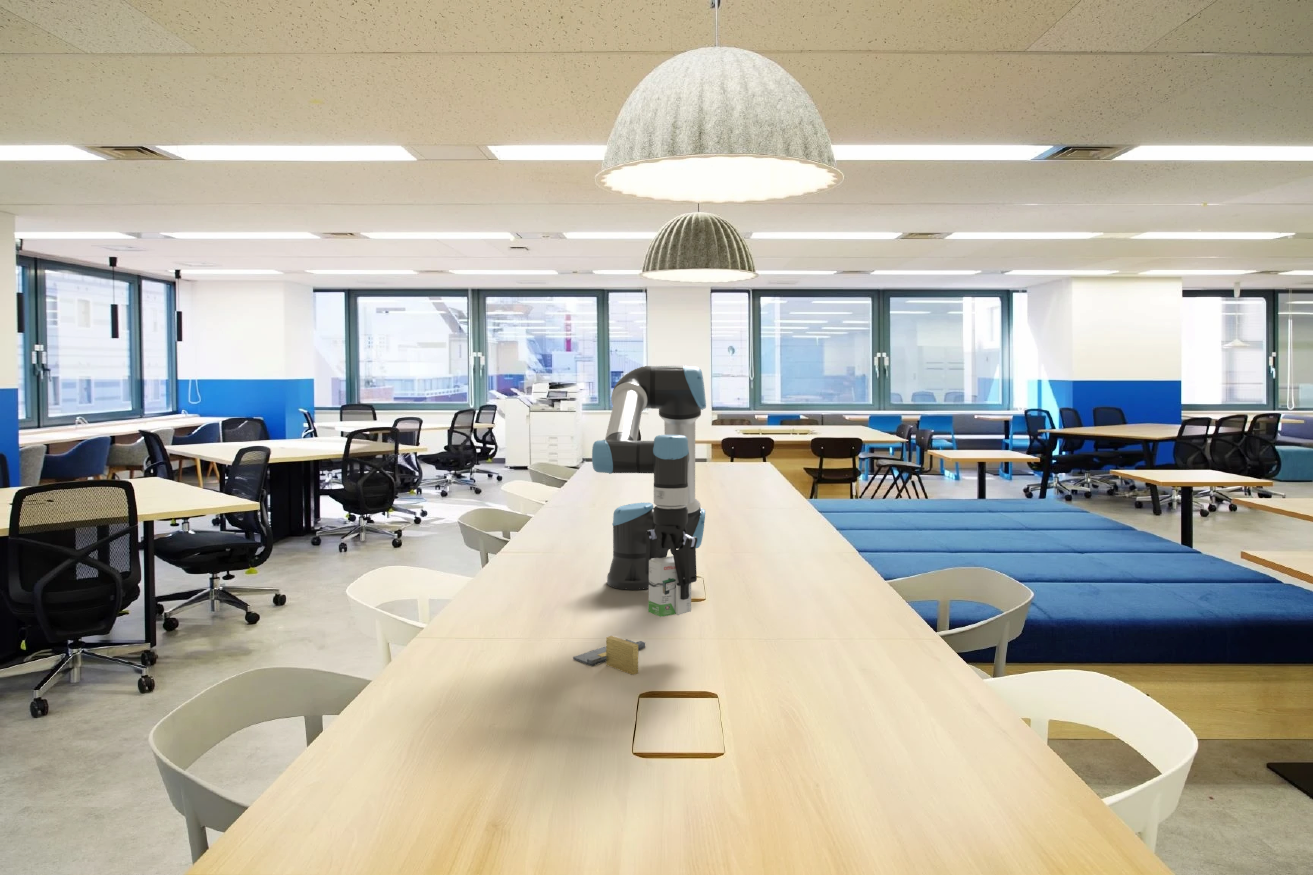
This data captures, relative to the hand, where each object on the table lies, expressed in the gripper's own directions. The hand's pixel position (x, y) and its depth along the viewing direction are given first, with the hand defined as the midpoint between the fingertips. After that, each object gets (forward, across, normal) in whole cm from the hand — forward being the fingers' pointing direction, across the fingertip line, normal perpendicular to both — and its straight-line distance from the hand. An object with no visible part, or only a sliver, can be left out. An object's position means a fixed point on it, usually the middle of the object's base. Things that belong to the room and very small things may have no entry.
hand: (670, 610), depth 176 cm
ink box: (+1, 0, 0) cm, 1 cm away
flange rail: (+9, -4, -10) cm, 14 cm away
